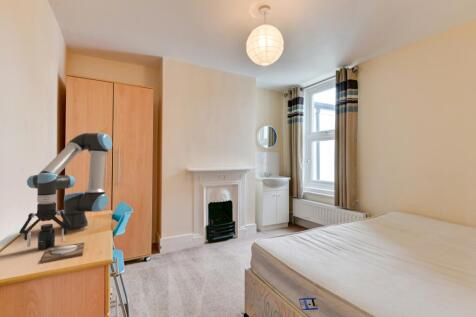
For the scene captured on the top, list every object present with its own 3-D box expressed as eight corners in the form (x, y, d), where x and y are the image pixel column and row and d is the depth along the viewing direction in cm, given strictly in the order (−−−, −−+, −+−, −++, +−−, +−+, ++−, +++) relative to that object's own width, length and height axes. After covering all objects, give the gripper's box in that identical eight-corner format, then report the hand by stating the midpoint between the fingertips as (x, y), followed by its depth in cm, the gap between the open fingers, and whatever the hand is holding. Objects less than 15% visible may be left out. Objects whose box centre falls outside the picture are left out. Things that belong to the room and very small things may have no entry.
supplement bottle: (35, 251, 110) (35, 227, 110) (40, 246, 117) (41, 223, 117) (52, 249, 113) (52, 225, 113) (56, 244, 119) (57, 222, 119)
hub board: (48, 250, 111) (48, 246, 111) (84, 244, 119) (84, 240, 119) (41, 263, 98) (41, 258, 98) (82, 255, 106) (82, 251, 106)
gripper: (11, 206, 105) (10, 251, 105) (75, 201, 118) (75, 241, 118) (16, 203, 112) (15, 245, 111) (77, 199, 125) (76, 236, 125)
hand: (46, 243), depth 115 cm, fingers open, 13 cm apart
